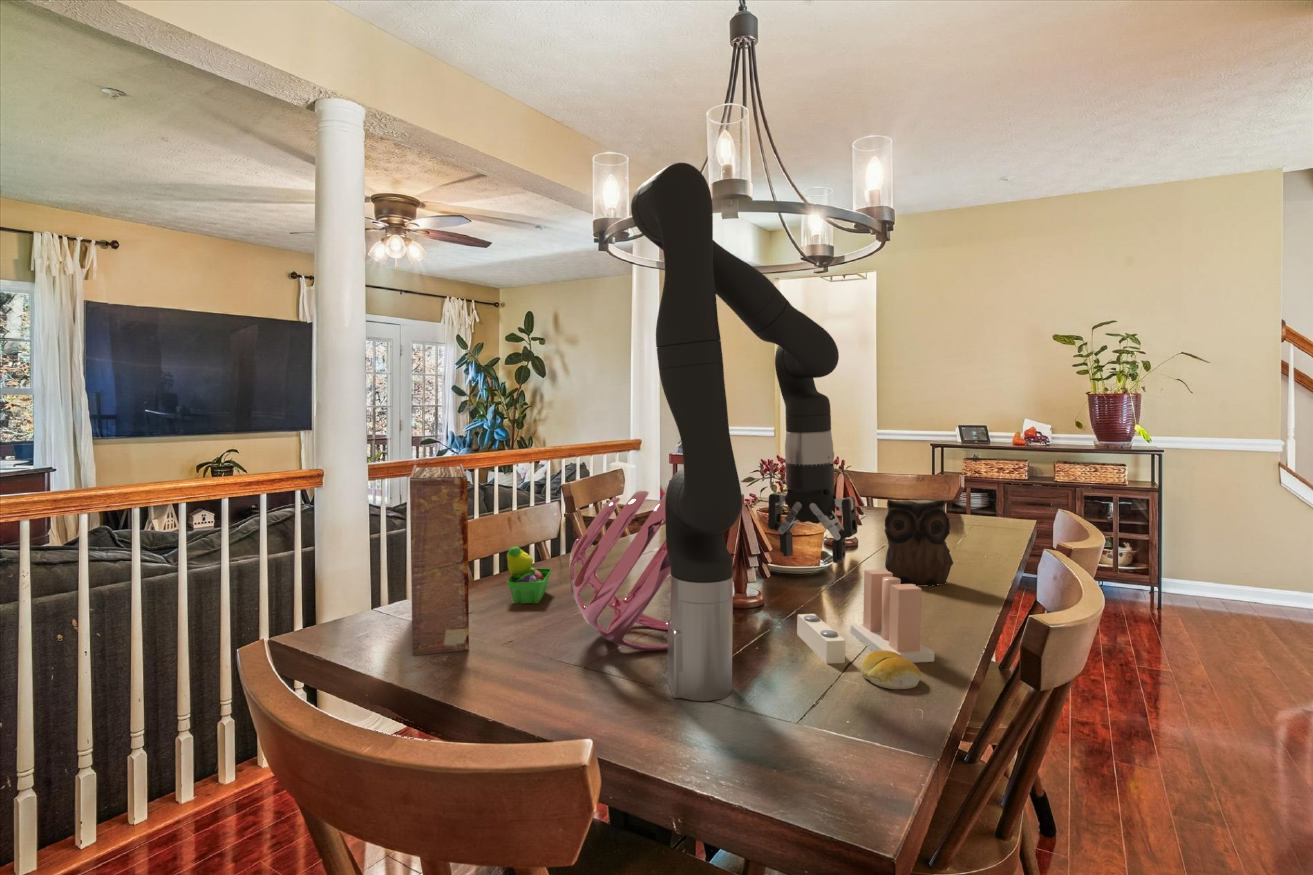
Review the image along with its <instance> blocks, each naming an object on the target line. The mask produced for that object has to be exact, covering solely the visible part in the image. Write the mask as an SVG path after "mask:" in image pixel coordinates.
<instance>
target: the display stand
mask: <svg viewBox="0 0 1313 875" xmlns="http://www.w3.org/2000/svg"><path fill="white" fill-rule="evenodd" d="M863 572H864V573H863V582H864V583H863V612H862V613H863V615H862V616H863V620H862V621H863V623H862V624H850V629H849V630H850V631H849V632H850V634H851V635H852V636H854V637H855V638H856V639H858V640H859V641H860V642H861V643H862V644H864V645H865V646H866V647H867V648H869V650H871V652H875V651H883V650H887V651H892V652H895V653H898V654H899V655H900V656H902V657H903V658H906V659H908V660H910V661H911V662H912V663H913V664H916V663H929V662H931V663H933V662H935V652H934V651H933V650H932V649H930V648H929V647H927V646H925V645H924V644H922V643H921V629H922V628H921V627H922V626H921V625H922V595H923V593H922V590H923V588H921V587H920V586H916V585H914V584H901V579H899V578H896V577H893V573H891V572H889V571H887V569H886V568H885V569H884V568H883V569H864V570H863Z"/></svg>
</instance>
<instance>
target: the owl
mask: <svg viewBox="0 0 1313 875" xmlns="http://www.w3.org/2000/svg"><path fill="white" fill-rule="evenodd" d="M886 501H887V502H886V507H887V514H886V516H885V518H884V534H885V535H886V539H887V545H888V547H887V550H886V555H885V562H884V565H885V566H884V568H885V570H887V571H889V572H891V573H893V577H896V578H899V579H901V584H916V585H928V586H927V587H929V586H931V587H933V586H932V585H937V584H945V583H947V581H948V578H949V575H950V572H951V569H952V566H953V565H954V561H953V557H952V555H951V550H950V549H949V548H948V546H947V542H946V540H947V538H948V536H949V535H951V532H950V530H951V525H950V518H949V517H948V516H947V513H946V511H945V508H944V506H945V504H946V500H944V499H939V500H929V499H928V500H927V499H922V500H920V499H919V500H916V499H909V500H898V499H896V500H893V499H890V498H889V499H887V500H886ZM916 585H915V586H916ZM945 585H946V584H945Z"/></svg>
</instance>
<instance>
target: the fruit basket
mask: <svg viewBox="0 0 1313 875" xmlns="http://www.w3.org/2000/svg"><path fill="white" fill-rule="evenodd" d="M506 560H507V569H508V572H509V573H510V574H511V576H510V577H509V578H508V579H507V585H508V586H509V589H510V594H511V598H512V601H513V603H514V604H516V605H517V604H522V605H523V604H524V603H525V604H526V603H532V604H534V603H538V604H539V603H540V601H541V600H542V598H543V596H544V594H545V593H546V592H547V587H548V582H549V579H550V576H551V573H552V569H551V568H548V567H546V568H545V567H532V565H533V563H534V559H533V557H532V556H531V555H529V554H528V553H527V552H526V551H524V550H523V549H521V548H520V547H519V546H513V547H509V548H508V552H507V554H506Z"/></svg>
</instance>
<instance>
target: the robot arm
mask: <svg viewBox="0 0 1313 875" xmlns="http://www.w3.org/2000/svg"><path fill="white" fill-rule="evenodd" d="M713 209H714V208H713V198H712V193H711V189H710V186H709V184H708V181H707V180H706V178H705V176H704V175H703V174H702V172H701V171H700V170H699V169H698V168H697V167H695V165H693V164H690V163H687V162H674V163H672V164H670V165H667V166H666V167H664V168H663V169H662V168H661V170H659V171H657V173H655V174H653V175H652V176H651V177H650V178H648V179H647V180H646V181H644V182H643V183H642V184H640V186H639V187H638V188H637V189H635V192H634V193H633V195H632V198H631V203H630V212H631V216H632V219H633V222H634V224H635V226H636V227H637V229H638V230H639V232H640V233H641V234H642V235H643V236H644V237H646V238H647V239H648V240H649V241H650V242H652V243H653V244H654V245H656V247H658V248H659V249H661V250H662V251H663V258H664V278H663V279H664V281H663V287H662V293H661V298H660V303H659V306H658V308H659V309H658V312H657V313H658V314H657V319H656V326H655V344H656V345H655V347H656V354H657V355H656V357H657V364H658V371H659V372H658V373H659V378H660V383H661V386H662V390H663V392H664V396H665V398H666V401H667V404H668V407H669V409H670V412H671V414H672V416H673V420H674V421H675V424H676V427H677V430H678V433H679V437H680V442H681V449H682V450H681V451H682V460H683V462H682V463H683V467H682V468H681V469H679V470H678V471H677V472H676V473H674V474H673V476H672V477H671V479H670V480H669V482H668V484H667V488H666V492H665V494H666V499H665V521H664V523H665V540H666V547H667V553H668V557H669V560H670V566H671V572H670V601H669V602H670V607H669V608H670V610H669V612H670V615H669V616H670V617H669V618H670V619H669V620H668V621H667V622H668V630H667V643H668V649H667V684H668V687H669V689H670V692H671V694H672V697H673V698H674V699H684V700H689V701H695V702H696V701H697V702H708V701H709V702H710V701H717V700H721V699H723V698H726V697H727V696H728V695H730V694H731V692H732V689H733V688H732V687H733V686H732V684H733V602H734V601H733V596H734V595H733V593H734V592H733V591H734V586H733V584H734V579H733V578H734V560H733V557H732V554H731V553H730V551H729V550H728V547H727V545H726V542H725V538H724V533H725V532H727V531H728V530H730V528H732V527H733V525H734V524H735V523H736V521H737V519H738V518H739V515H740V514H741V508H742V500H743V498H742V490H741V483H740V479H739V474H738V468H737V465H736V460H735V455H734V450H733V446H732V445H733V444H732V440H731V434H730V425H729V424H730V423H729V415H728V414H729V413H728V404H727V395H726V394H727V393H726V383H725V372H724V371H725V370H724V358H723V348H722V341H721V332H720V325H719V317H718V304H717V296H718V297H719V298H720V300H722V301H723V302H724V303H725V305H727V307H729V308H730V310H732V311H733V312H734V314H735V315H736V316H737V317H738V318H739V319H740V320H741V321H742V322H743V324H745V326H747V328H748V329H750V331H751V332H752V333H753V334H754V335H755V336H756V337H758V338H759V339H760V340H761V341H763V342H766V343H772V344H775V345H777V348H776V350H775V356H774V366H775V367H774V368H775V374H776V377H777V382H778V385H779V389H780V393H781V396H782V400H783V402H784V407H785V431H786V432H785V440H784V441H785V442H784V455H785V481H786V482H785V485H786V486H785V487H786V494H784V493H782V492H781V491H775V492H773V493H771V494H769V495H768V517H767V518H768V521H767V523H768V524H767V526H768V528H769V530H774V531H777V532H778V534H779V547H780V548H779V550H780V552H781V553H782V555H783V557H786V558H789V557H790V556H792V555H793V552H794V549H793V548H794V546H793V545H794V544H793V531H792V532H791V530H792V529H793V527H794V526H796V523H798V522H799V523H812V524H817V525H819V524H820V523H821V525H822V526H823V528H824V529H826V530H827V531H828V532H829V534H830V535H831V536H832V538H833V539H832V541H831V542H832V543H831V544H832V563H834V564H839V563H841V562H842V561H843V559H845V557H846V539H847V538H852V536H854V535H856V534H857V533H858V523H857V522H858V521H857V511H856V501H855V497H853V496H848V497H837V496H836V494H835V467H834V466H835V462H834V460H835V451H834V443H833V442H834V441H833V436H832V414H831V413H832V412H831V402H830V399H829V397H828V395H825V394H823V393H822V392H821V393H820V392H819V391H818V390H817V387H816V383H815V380H814V379H818V378H823V377H826V376H828V375H830V374H831V373H833V372H834V371H835V369H836V368H837V366H838V363H839V358H840V357H839V356H840V354H839V353H840V352H839V349H838V345H837V344H836V341H835V340H834V338H833V337H832V335H831V334H830V333H829V332H828V330H826V329H825V328H824V327H822V326H821V325H820V324H818V323H817V322H815V320H813V319H811V317H809V316H808V315H807V314H805V313H803V312H802V311H800V310H798V309H797V308H795V307H794V306H793V305H792V304H791V303H790V301H789V300H788V299H787V298H786V297H785V295H783V293H782V292H781V291H780V290H779V289H778V288H777V287H776V285H775V284H774V283H773V282H772V281H771V280H770V279H769V278H768V277H767V276H766V275H764V274H763V273H762V272H761V271H759V270H758V269H757V268H755V266H753V265H751V264H749V263H748V262H746V261H744V260H742V259H741V258H739V257H738V256H736V255H735V254H733V253H732V252H730V251H728V250H727V249H725V248H724V247H722V245H720V244H718V243H717V242H716V241H715V240H714V236H713V235H714V231H713V230H714V229H713V228H714V227H713V226H714V223H713V222H714V216H713V214H714V212H713ZM784 504H786V505H787V507H788V509H789V510H790V511H789V512H788V514H786V515H785V518H784V519H783V522H782V515H783V514H782V510H783V509H782V507H783V506H784ZM836 506H837V507H838V510H839V511H840V512H841V513H842V514H841V515H842V523H843V526H842V524H841V523H840V519H839V518H838V516H837V515H836V513H835V512H834V510H835V508H836Z"/></svg>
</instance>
